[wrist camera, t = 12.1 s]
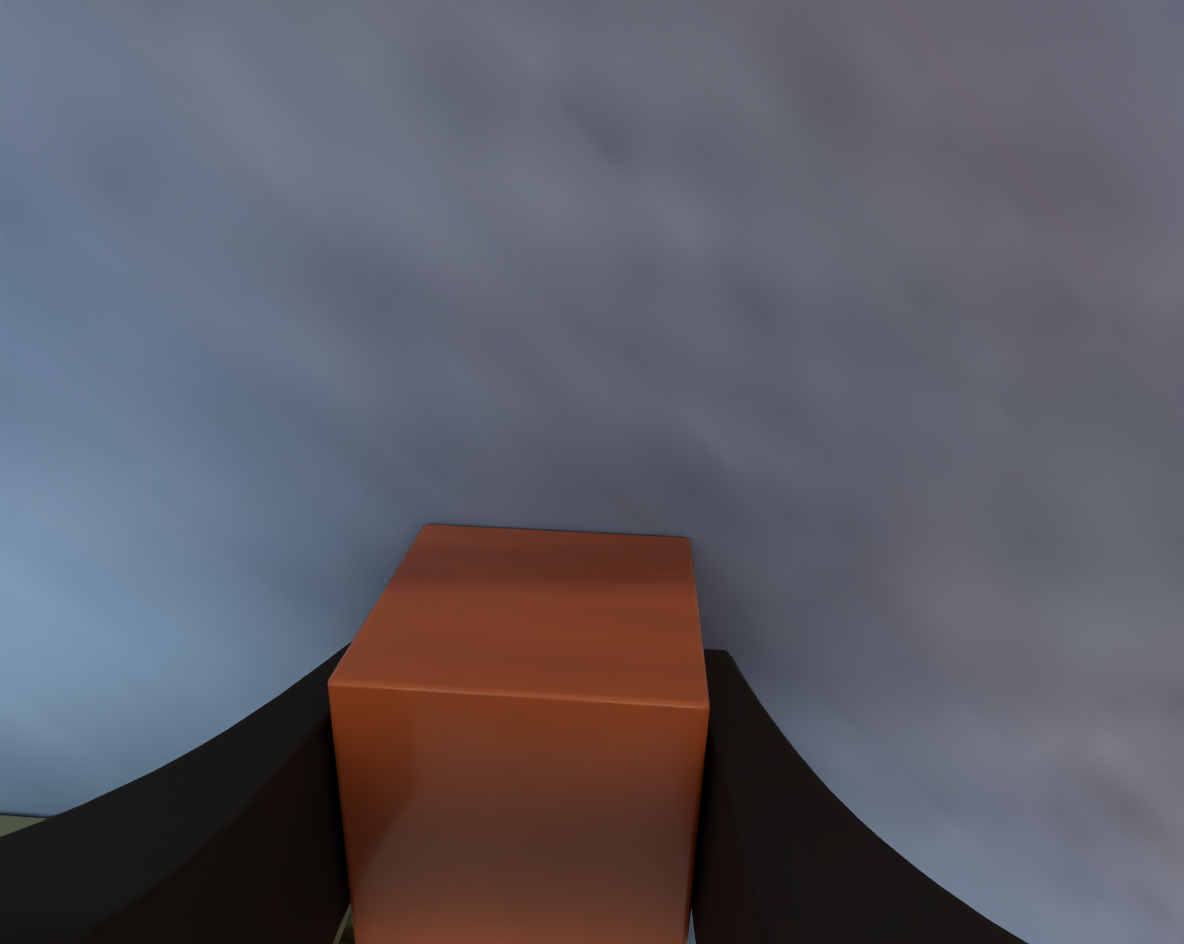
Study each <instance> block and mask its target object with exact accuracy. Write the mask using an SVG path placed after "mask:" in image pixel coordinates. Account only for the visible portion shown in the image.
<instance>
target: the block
mask: <svg viewBox="0 0 1184 944" xmlns="http://www.w3.org/2000/svg"><path fill="white" fill-rule="evenodd" d="M328 693H329V702H330V712H331V721H332V730H333V740H334V749H335V759H336V768H337V778H338V787H339V796H340V806H341V815H342V825H343V834H344V844H345V853H346V863H347V872H348V881H349V891H350V900H351V910H352V919H353V929H354V938H355V944H687V943H688V933H689V922H690V912H691V901H692V891H693V880H694V870H695V859H696V849H697V838H698V828H699V817H700V807H701V796H702V786H703V775H704V765H705V754H706V744H707V733H708V723H709V712H710V702H709V693H708V685H707V676H706V667H705V659H704V650H703V641H702V633H701V624H700V615H699V607H698V598H697V589H696V581H695V572H694V563H693V555H692V546H691V541H690V539H688V538H680V537H661V536H641V535H622V534H603V533H584V532H564V531H545V530H526V529H507V528H487V527H468V526H449V525H430V524H428V525H424V526H423V527H422V529H421V531H420V532H419V534H418V536H417V537H416V539H415V540H414V542H413V544H412V545H411V547H410V549H409V550H408V552H407V553H406V555H405V557H404V558H403V560H402V561H401V563H400V565H399V566H398V568H397V570H396V571H395V573H394V574H393V576H392V578H391V579H390V581H389V583H388V584H387V586H386V587H385V589H384V591H383V592H382V594H381V596H380V597H379V599H378V600H377V602H376V604H375V605H374V607H373V608H372V610H371V612H370V613H369V615H368V617H367V618H366V620H365V621H364V623H363V625H362V626H361V628H360V630H359V631H358V633H357V634H356V636H355V638H354V639H353V641H352V642H351V644H350V646H349V647H348V649H347V651H346V652H345V654H344V655H343V657H342V659H341V660H340V662H339V664H338V665H337V667H336V668H335V670H334V672H333V673H332V675H331V677H330V678H329V681H328Z"/></svg>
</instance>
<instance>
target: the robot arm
mask: <svg viewBox="0 0 1184 944" xmlns="http://www.w3.org/2000/svg"><path fill="white" fill-rule="evenodd" d="M350 644H351V642H350V643H349V644H348V645H346V646H345V647H344V648H342V649H341V650H340V651H338V652H337V653H336V654H334V655H333V656H332V657H330V658H329V659H328V660H327V661H325V662H324V663H323V664H321V665H320V666H319V667H317V668H316V669H314V670H313V671H312V672H310V673H309V674H308V675H306V676H305V677H304V678H302V679H301V680H299V681H298V682H297V683H295V684H294V685H293V686H291V687H290V688H289V689H287V690H286V691H284V692H283V693H282V694H280V695H279V696H277V697H276V698H274V699H273V700H271V701H270V702H268V703H267V704H265V705H264V706H262V707H261V708H259V709H258V710H256V711H255V712H253V713H252V714H250V715H249V716H247V717H246V718H244V719H243V720H241V721H240V722H238V723H237V724H235V725H234V726H232V727H231V728H229V729H228V730H226V731H224V732H223V733H221V734H219V735H218V736H216V737H215V738H213V739H211V740H209V741H208V742H206V743H204V744H203V745H201V746H199V747H198V748H196V749H194V750H192V751H190V752H189V753H187V754H185V755H183V756H181V757H179V758H178V759H176V760H174V761H172V762H170V763H168V764H167V765H165V766H163V767H161V768H159V769H157V770H155V771H153V772H151V773H149V774H147V775H145V776H143V777H141V778H139V779H136V780H134V781H132V782H130V783H128V784H126V785H124V786H121V787H119V788H117V789H115V790H113V791H111V792H108V793H106V794H104V795H102V796H100V797H98V798H96V799H93V800H91V801H89V802H87V803H85V804H83V805H80V806H78V807H75V808H73V809H71V810H68V811H66V812H63V813H61V814H58V815H56V816H53V817H51V818H48V819H46V820H43V821H41V822H38V823H36V824H33V825H30V826H28V827H25V828H22V829H20V830H17V831H14V832H12V833H9V834H6V835H4V836H1V837H0V944H333V942H334V940H335V937H336V935H337V932H338V930H339V927H340V925H341V923H342V920H343V918H344V916H345V914H346V911H347V909H348V907H349V904H350V902H351V900H350V891H349V881H348V872H347V863H346V853H345V844H344V834H343V825H342V815H341V806H340V796H339V787H338V778H337V768H336V759H335V749H334V740H333V730H332V721H331V712H330V702H329V693H328V681H329V678H330V677H331V675H332V673H333V672H334V670H335V668H336V667H337V665H338V664H339V662H340V660H341V659H342V657H343V655H344V654H345V652H346V651H347V649H348V647H349V646H350ZM703 650H704V659H705V667H706V676H707V685H708V693H709V702H710V712H709V723H708V733H707V744H706V754H705V765H704V775H703V786H702V796H701V807H700V817H699V828H698V838H697V849H696V859H695V870H694V880H693V891H692V901H691V909H692V917H693V924H694V932H695V939H696V944H1028V943H1026V942H1025V941H1023V940H1021V939H1020V938H1018V937H1016V936H1015V935H1013V934H1011V933H1010V932H1008V931H1006V930H1005V929H1003V928H1001V927H1000V926H998V925H996V924H995V923H993V922H992V921H990V920H988V919H987V918H985V917H984V916H982V915H981V914H979V913H978V912H977V911H975V910H974V909H972V908H971V907H969V906H968V905H967V904H965V903H964V902H962V901H961V900H959V899H958V898H957V897H955V896H954V895H952V894H951V893H949V892H948V891H947V890H945V889H944V888H942V887H941V886H940V885H938V884H937V883H936V882H934V881H933V880H932V879H930V878H929V877H928V876H926V875H925V874H924V873H922V872H921V871H920V870H918V869H917V868H916V867H914V866H913V865H912V864H911V863H910V862H908V861H907V860H906V859H905V858H904V857H902V856H901V855H900V854H899V853H897V852H896V851H895V850H894V849H893V848H891V847H890V846H889V845H888V844H887V843H885V842H884V841H883V840H882V839H881V838H879V837H878V836H877V835H876V834H875V833H874V832H873V831H872V830H870V829H869V828H868V827H867V826H866V825H865V824H864V823H863V822H862V821H860V820H859V819H858V818H857V817H856V816H855V815H854V814H853V813H852V812H851V811H850V810H849V809H848V808H847V807H846V806H845V805H844V804H843V803H842V802H841V801H840V800H839V799H838V798H837V797H836V796H835V795H834V794H833V793H832V792H831V791H830V790H829V788H828V787H827V786H826V785H825V784H824V783H823V782H822V781H821V780H820V779H819V777H818V776H817V775H816V774H815V773H814V772H813V770H812V769H811V768H810V767H809V766H808V764H807V763H806V762H805V761H804V760H803V759H802V757H801V756H800V755H799V754H798V753H797V751H796V750H795V749H794V747H793V746H792V745H791V744H790V742H789V741H788V740H787V739H786V737H785V736H784V734H783V733H782V732H781V730H780V729H779V728H778V726H777V725H776V724H775V722H774V721H773V720H772V718H771V717H770V716H769V714H768V713H767V711H766V710H765V708H764V707H763V706H762V704H761V703H760V701H759V700H758V698H757V697H756V695H755V694H754V692H753V691H752V689H751V688H750V686H749V684H748V683H747V681H746V680H745V678H744V676H743V675H742V673H741V671H740V670H739V668H738V666H737V665H736V663H735V661H734V659H733V657H732V656H731V655H730V654H729V653H728V652H727V651H726V650H710V649H703Z"/></svg>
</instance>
